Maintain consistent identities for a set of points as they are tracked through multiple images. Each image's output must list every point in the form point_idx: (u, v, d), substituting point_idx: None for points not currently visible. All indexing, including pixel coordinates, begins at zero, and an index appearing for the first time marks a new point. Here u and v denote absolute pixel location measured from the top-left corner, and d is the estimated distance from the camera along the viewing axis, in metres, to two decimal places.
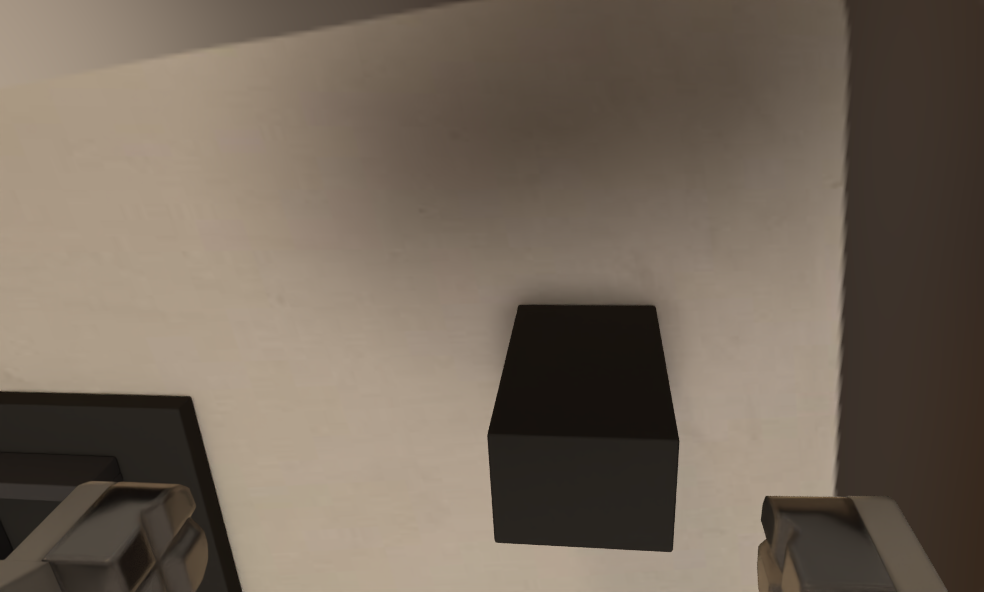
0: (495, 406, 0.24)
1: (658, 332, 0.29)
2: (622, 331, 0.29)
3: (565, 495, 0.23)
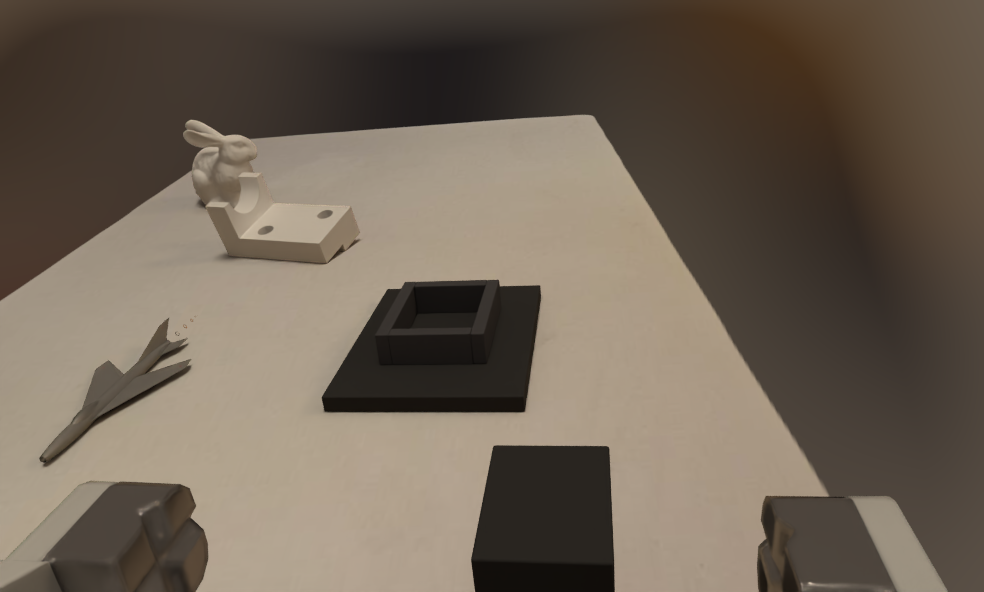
0: None
1: None
2: None
3: (545, 487, 0.26)
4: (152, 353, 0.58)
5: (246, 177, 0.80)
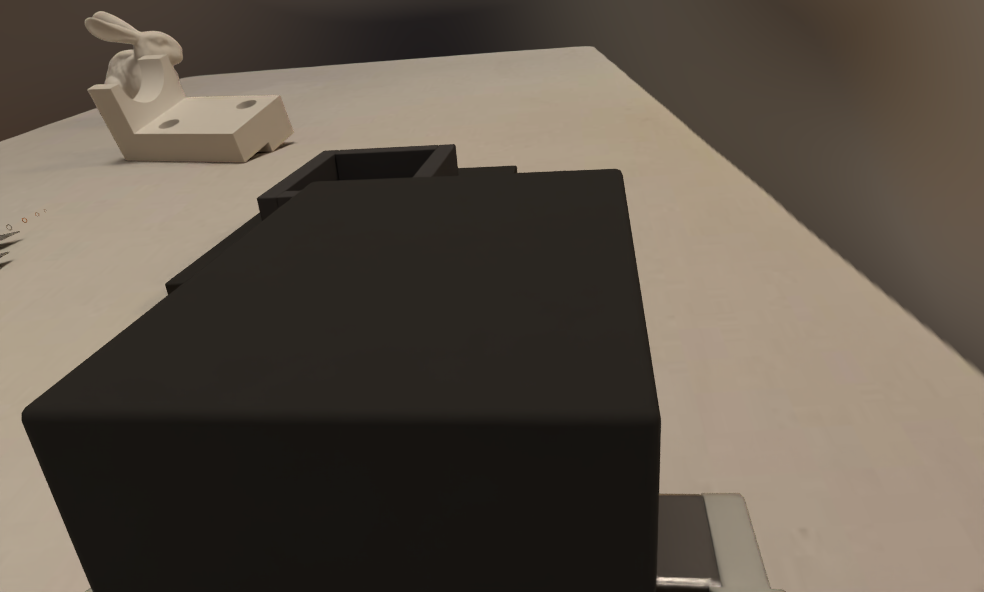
0: None
1: None
2: None
3: (421, 233, 0.08)
4: None
5: (147, 60, 0.63)
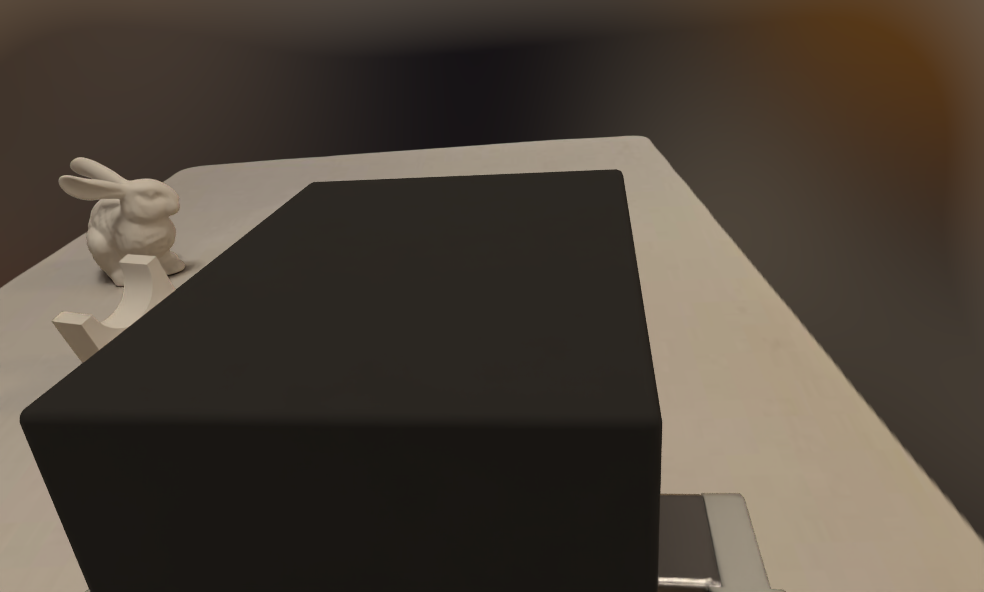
0: None
1: None
2: None
3: (421, 233, 0.08)
4: None
5: (131, 263, 0.49)
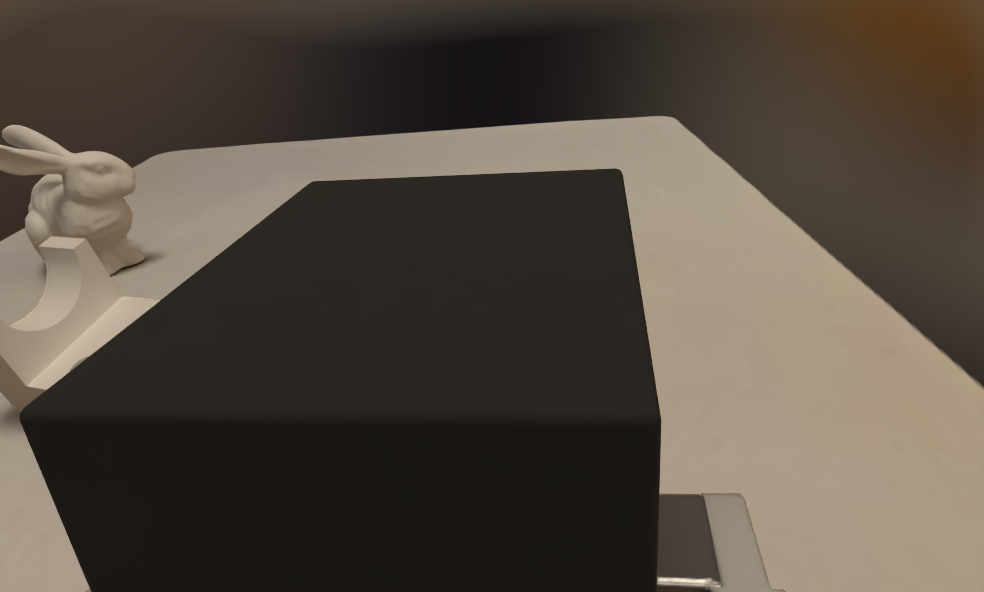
0: None
1: None
2: None
3: (420, 233, 0.08)
4: None
5: (54, 248, 0.38)
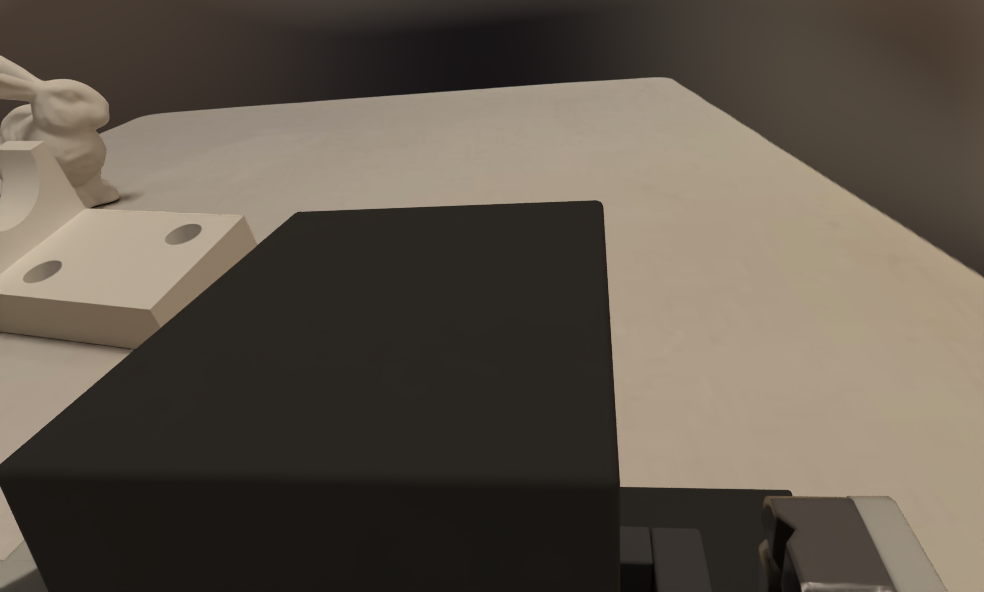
0: None
1: None
2: None
3: (400, 271, 0.08)
4: None
5: (10, 151, 0.36)
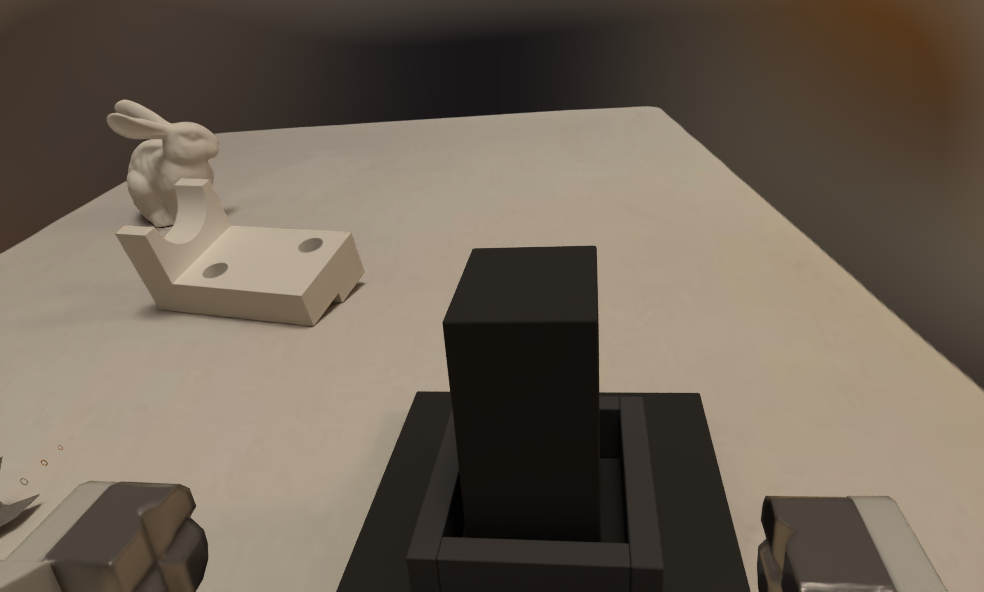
0: None
1: (600, 522, 0.23)
2: None
3: (527, 272, 0.24)
4: None
5: (186, 186, 0.51)
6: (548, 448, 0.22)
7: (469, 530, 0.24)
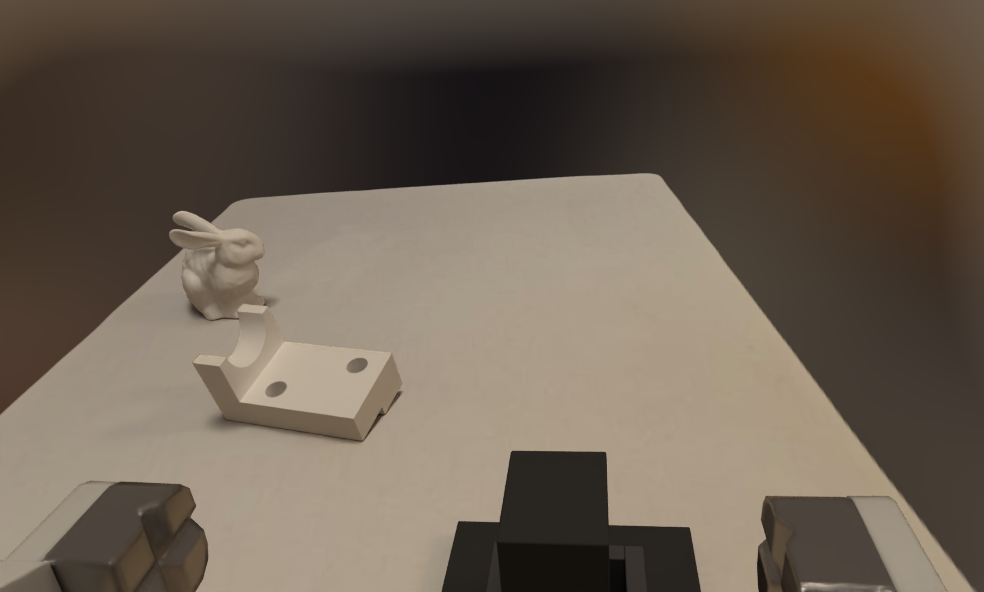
0: None
1: None
2: None
3: (554, 485, 0.32)
4: None
5: (248, 312, 0.59)
6: None
7: None
